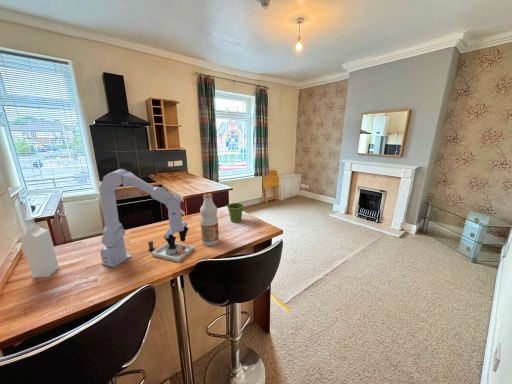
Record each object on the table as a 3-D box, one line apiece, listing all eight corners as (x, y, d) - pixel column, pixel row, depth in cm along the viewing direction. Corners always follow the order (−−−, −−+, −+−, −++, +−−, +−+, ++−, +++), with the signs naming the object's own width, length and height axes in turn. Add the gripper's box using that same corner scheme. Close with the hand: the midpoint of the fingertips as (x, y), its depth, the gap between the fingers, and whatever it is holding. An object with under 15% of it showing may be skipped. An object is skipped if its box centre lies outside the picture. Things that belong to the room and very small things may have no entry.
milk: (59, 268, 94) (47, 223, 88) (48, 276, 89) (34, 229, 83) (44, 269, 93) (30, 224, 88) (32, 278, 88) (16, 230, 82)
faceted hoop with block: (162, 253, 105) (161, 247, 104) (172, 247, 111) (171, 241, 111) (180, 258, 102) (179, 251, 101) (188, 250, 108) (188, 245, 107)
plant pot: (237, 216, 155) (237, 201, 152) (247, 221, 146) (247, 206, 143) (224, 220, 148) (223, 205, 144) (233, 225, 139) (233, 209, 136)
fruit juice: (199, 240, 119) (196, 193, 112) (215, 236, 124) (212, 191, 117) (205, 248, 112) (202, 198, 104) (221, 243, 117) (219, 195, 109)
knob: (151, 252, 108) (150, 244, 106) (147, 250, 108) (145, 243, 107) (156, 249, 110) (155, 241, 109) (151, 248, 111) (150, 240, 110)
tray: (178, 262, 99) (178, 258, 99) (152, 255, 104) (151, 252, 104) (194, 249, 110) (193, 246, 110) (169, 244, 115) (168, 241, 115)
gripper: (171, 227, 93) (174, 253, 97) (191, 215, 106) (193, 239, 110) (159, 224, 95) (162, 250, 99) (180, 213, 109) (182, 237, 112)
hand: (177, 244), depth 105 cm, fingers open, 7 cm apart
